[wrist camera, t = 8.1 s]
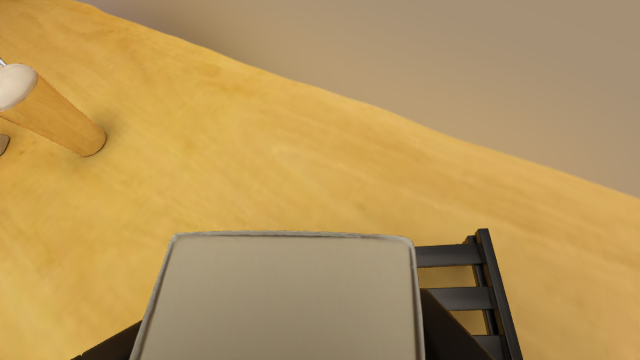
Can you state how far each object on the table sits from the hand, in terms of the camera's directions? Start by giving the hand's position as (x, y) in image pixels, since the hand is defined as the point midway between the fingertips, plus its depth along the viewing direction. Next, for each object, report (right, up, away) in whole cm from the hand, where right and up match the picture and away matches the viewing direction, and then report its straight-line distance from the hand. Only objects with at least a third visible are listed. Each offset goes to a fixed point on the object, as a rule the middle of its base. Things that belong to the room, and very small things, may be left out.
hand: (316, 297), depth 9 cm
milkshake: (-23, +7, +23) cm, 34 cm away
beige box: (+1, -4, +5) cm, 7 cm away
